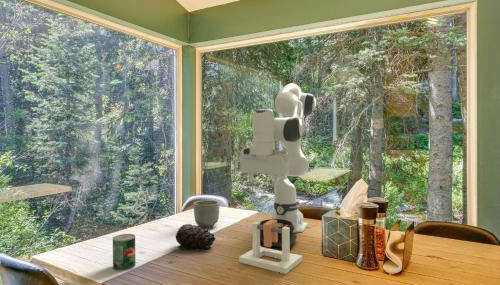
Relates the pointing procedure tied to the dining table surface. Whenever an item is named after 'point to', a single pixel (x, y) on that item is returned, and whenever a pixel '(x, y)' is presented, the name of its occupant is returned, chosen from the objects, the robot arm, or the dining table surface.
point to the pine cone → (194, 238)
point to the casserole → (280, 225)
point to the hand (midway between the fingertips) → (264, 185)
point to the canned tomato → (123, 252)
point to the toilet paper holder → (271, 252)
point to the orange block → (270, 233)
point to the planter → (206, 213)
